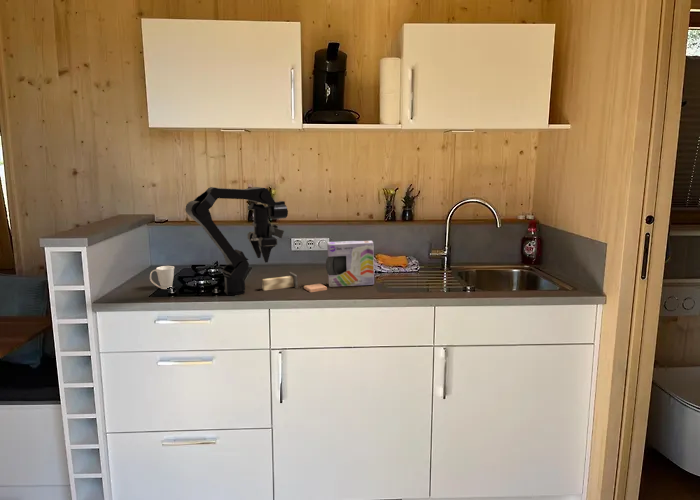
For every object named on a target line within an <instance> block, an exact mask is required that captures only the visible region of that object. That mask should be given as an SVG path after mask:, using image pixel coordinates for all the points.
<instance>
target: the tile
mask: <svg viewBox="0 0 700 500" xmlns="http://www.w3.org/2000/svg"><path fill="white" fill-rule="evenodd" d="M303 289H304V290H306V291H308V292H309V293H314V292H322V291H327V290H328V287H327V286H325V285H324V284H323V283H314V284H307V285H304V286H303Z"/></svg>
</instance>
